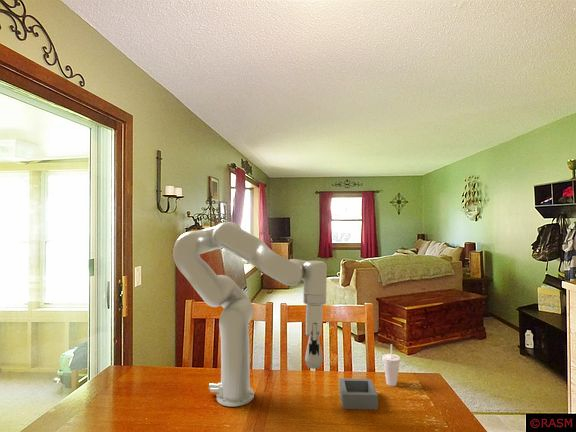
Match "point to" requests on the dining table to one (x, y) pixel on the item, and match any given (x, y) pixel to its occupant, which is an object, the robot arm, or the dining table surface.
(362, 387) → the socket holder
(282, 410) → the dining table surface
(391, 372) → the smoothie
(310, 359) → the salt shaker
